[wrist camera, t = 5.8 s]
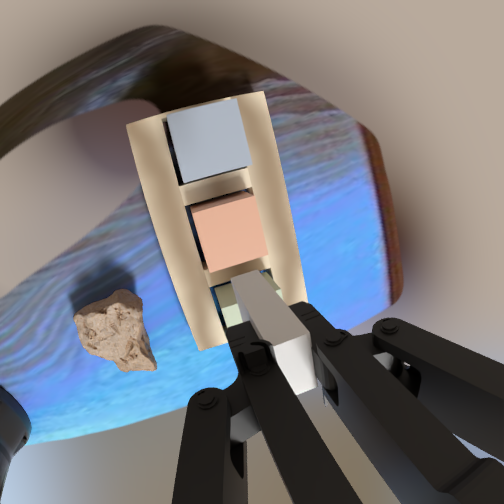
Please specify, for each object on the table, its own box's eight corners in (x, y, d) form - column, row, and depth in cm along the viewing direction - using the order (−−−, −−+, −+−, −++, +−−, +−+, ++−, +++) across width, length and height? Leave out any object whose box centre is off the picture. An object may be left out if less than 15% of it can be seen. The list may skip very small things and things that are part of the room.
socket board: (197, 337, 37) (199, 351, 34) (130, 128, 28) (125, 124, 26) (300, 303, 39) (309, 313, 37) (255, 96, 31) (263, 91, 28)
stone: (143, 282, 34) (139, 300, 29) (159, 361, 37) (159, 385, 33) (74, 289, 32) (61, 307, 27) (97, 366, 35) (91, 389, 31)
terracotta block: (204, 257, 34) (209, 273, 29) (189, 206, 32) (192, 213, 27) (255, 242, 35) (268, 254, 30) (243, 190, 33) (254, 195, 28)
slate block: (182, 180, 29) (183, 183, 24) (167, 122, 27) (166, 114, 22) (240, 164, 30) (252, 164, 25) (226, 108, 28) (236, 98, 23)
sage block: (228, 332, 35) (237, 356, 30) (214, 288, 33) (221, 308, 28) (276, 316, 36) (291, 337, 31) (266, 271, 34) (280, 289, 29)
